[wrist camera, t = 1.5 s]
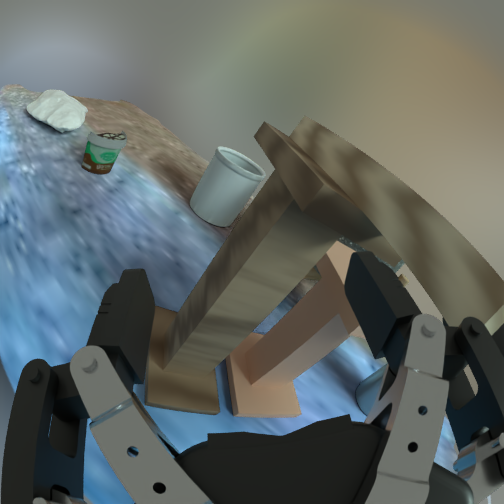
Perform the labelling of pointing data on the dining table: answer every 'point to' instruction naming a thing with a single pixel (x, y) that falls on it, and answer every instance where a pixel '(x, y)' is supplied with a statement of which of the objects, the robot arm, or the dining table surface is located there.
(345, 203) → the walnut base stand
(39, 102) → the crumpled cloth
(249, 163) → the utensil holder
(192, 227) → the dining table surface
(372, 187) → the beech bar
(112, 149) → the food container
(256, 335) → the terracotta base stand
